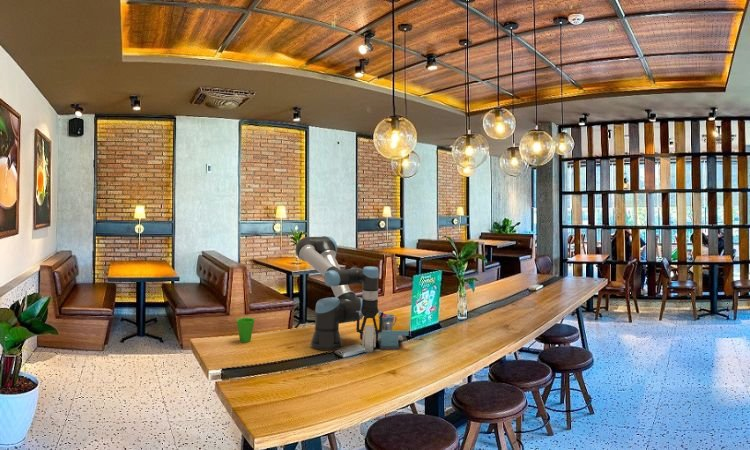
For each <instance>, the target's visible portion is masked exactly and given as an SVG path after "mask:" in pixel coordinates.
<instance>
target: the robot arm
mask: <svg viewBox="0 0 750 450" xmlns="http://www.w3.org/2000/svg"><path fill="white" fill-rule="evenodd" d="M337 252H338V245H337V242H336V240H335V239H334V238H333V237H331V236H325V235H323V236H304V237H303V238H301V239H299V240H298V242H297V243H296V245H295V255H296V256H297V258H299V259H300V260H301V261H302V262H306V263H307V264H309V266H311V267H312V268H313V269H314V270H316V271H317V272H318V273H319V274H320V275H322V277H323V281H324V284H325V285H326V286H327V287H330V288H331V290H332V293H333V295H334V297H333V296H332V297H325V298H320V299H319V300H317V302H316V303H315V309H314V312H315V321H314V324H315V326H314V333H313V336H312V338H311V343H310V345H311V346H310V347H311V348H313V349H315V350H319V351H333V350H334V351H335V350H338V349H337V348H339V349H340V348H342V345H343V340H342V337H341V334H340V331H339V330H340V329H339V325H340V324H345V323H351V322H353V323H354V322H356V333H359V340H361V341H362V343H361V347H362V348H364V341H365V325H366V324H367V320H368V319H372V322H373V327H374V330H375V332H374V336H373V348H376V343H377V341H378V333H380V332H382V317H383V314H385V313H384V311H383V310H382V311H381V310H379V308H378V305H379V304H378V303H379V301H378V298H379V278H380V275H379V274H380V273H379V272H380V271H379V268H378V266H364V267H363V268H360V267H351V268H350V269H349V268H347V269H346V268H345V269H341V266H339V263H338V261H337V259H336V256H337ZM349 285H362V293H361V294H362V297H360V296H359V297H357V295H356V293H355V292H354V291H352V290H351V288H350V287H349ZM378 315H379V317H378V323H377V320H376V316H378ZM360 320H362V323H361V325H360ZM377 324H379V325H377ZM360 326H361V327H360Z"/></svg>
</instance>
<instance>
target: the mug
mask: <svg viewBox="0 0 750 450" xmlns="http://www.w3.org/2000/svg"><path fill="white" fill-rule="evenodd" d="M377 318H379V314H377ZM384 322H392V327H394V326H395V324H396V322H397V317H396V316H395V315H394V314H392V313H384V314H383V317H382V330H384ZM392 330H393V328H392Z"/></svg>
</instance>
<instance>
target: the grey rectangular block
mask: <svg viewBox="0 0 750 450" xmlns="http://www.w3.org/2000/svg"><path fill="white" fill-rule="evenodd" d="M374 330H375V327H374V324H373V325H370V324H369V325H366V324H365V327H364V347H363V349H364V348H365V351H366V352H365V351H364V352H365V353H374V346H373V345H374Z"/></svg>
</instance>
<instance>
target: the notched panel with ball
mask: <svg viewBox="0 0 750 450" xmlns="http://www.w3.org/2000/svg"><path fill="white" fill-rule="evenodd" d="M392 325H393V324H392V322H384V330H382V332H380V333H378V340H377V342H378V345H379V350H383V351H384V350H386V351H387V350H388V351H390V350H391V351H392V350H394V351H399V349H400V346H399V341H404V337H403V336H410V335H409V334H410V331H409V330H406V329H405V330H403V329H402V330H401V329H400V330H399V329H398V330H392V329H393V326H392ZM374 332H375V329H374Z"/></svg>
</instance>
